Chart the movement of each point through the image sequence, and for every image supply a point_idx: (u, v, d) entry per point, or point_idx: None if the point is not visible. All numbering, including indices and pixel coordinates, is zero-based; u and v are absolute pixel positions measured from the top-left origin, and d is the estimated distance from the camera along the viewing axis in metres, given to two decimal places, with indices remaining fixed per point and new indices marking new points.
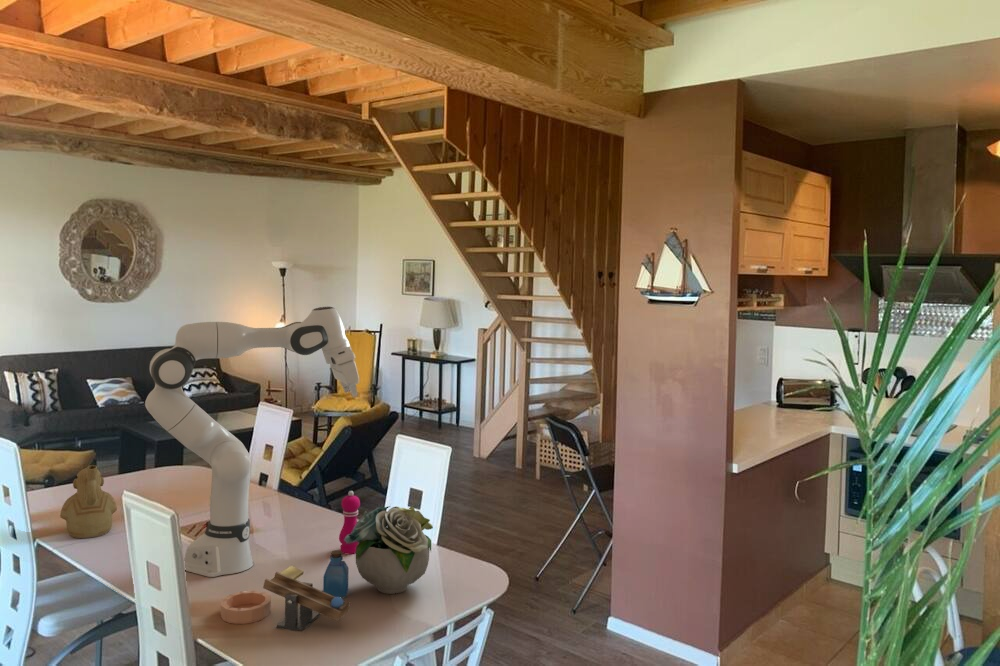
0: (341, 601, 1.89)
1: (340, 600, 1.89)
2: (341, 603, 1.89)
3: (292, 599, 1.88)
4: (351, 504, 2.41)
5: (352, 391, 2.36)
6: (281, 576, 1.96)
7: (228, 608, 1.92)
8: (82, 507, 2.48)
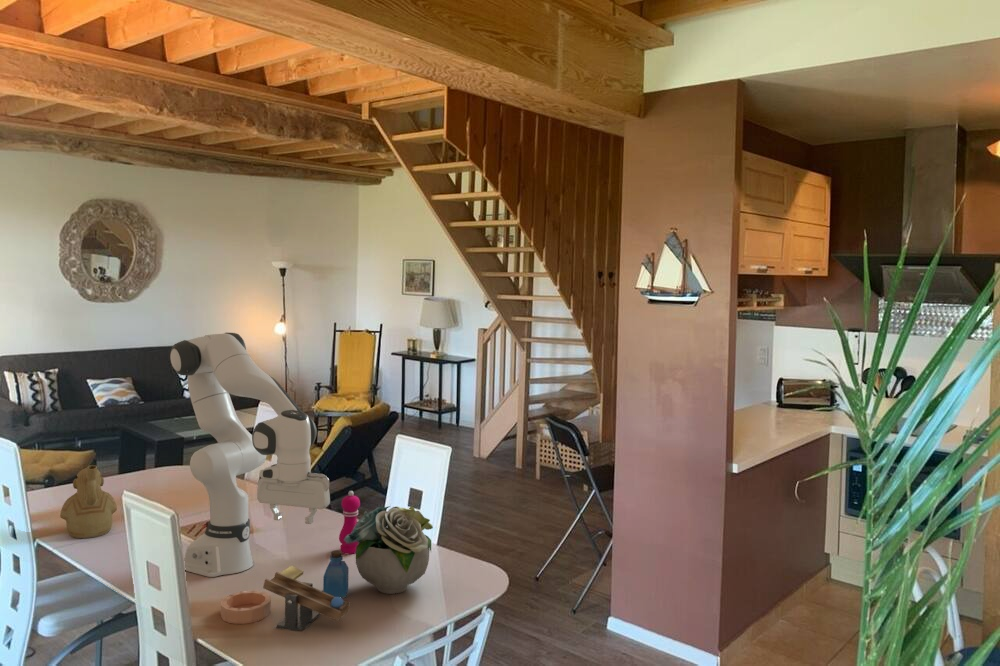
0: (341, 601, 1.89)
1: (340, 600, 1.89)
2: (341, 603, 1.89)
3: (292, 599, 1.88)
4: (351, 504, 2.41)
5: None
6: (281, 576, 1.96)
7: (228, 608, 1.92)
8: (82, 507, 2.48)
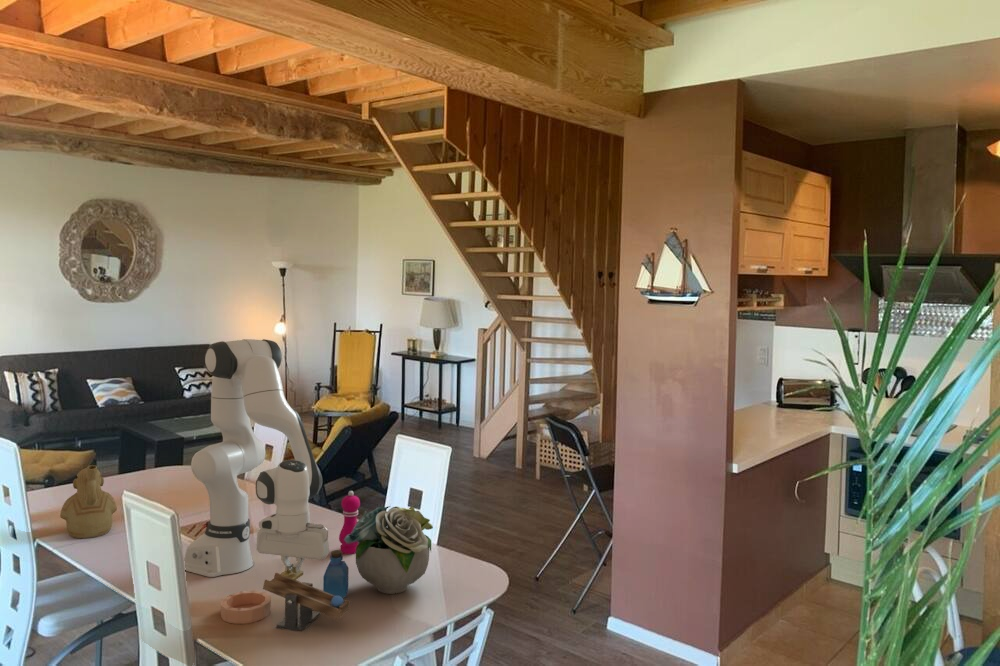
0: (341, 600, 1.89)
1: (340, 599, 1.89)
2: (341, 602, 1.89)
3: (292, 599, 1.88)
4: (351, 504, 2.41)
5: None
6: (281, 577, 1.96)
7: (228, 608, 1.92)
8: (82, 507, 2.48)
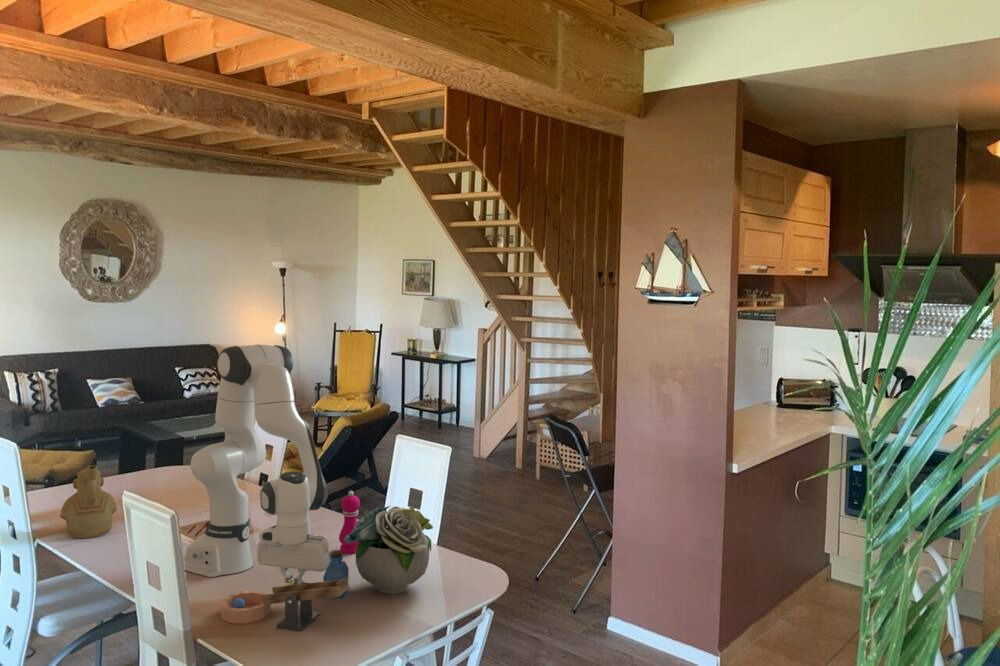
0: (238, 599, 1.97)
1: (236, 599, 1.97)
2: (239, 600, 1.97)
3: (292, 599, 1.88)
4: (351, 504, 2.41)
5: None
6: (278, 588, 1.97)
7: (228, 608, 1.92)
8: (82, 507, 2.48)
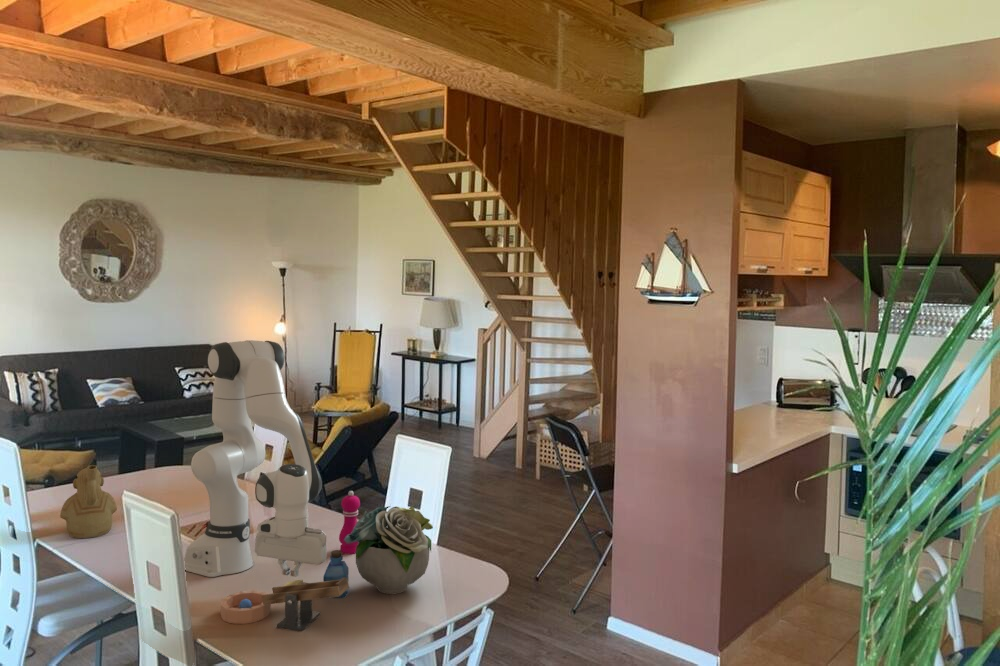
0: (249, 605, 1.96)
1: (248, 603, 1.96)
2: (249, 606, 1.96)
3: (292, 599, 1.88)
4: (351, 504, 2.41)
5: None
6: (278, 589, 1.97)
7: (228, 608, 1.92)
8: (82, 507, 2.48)
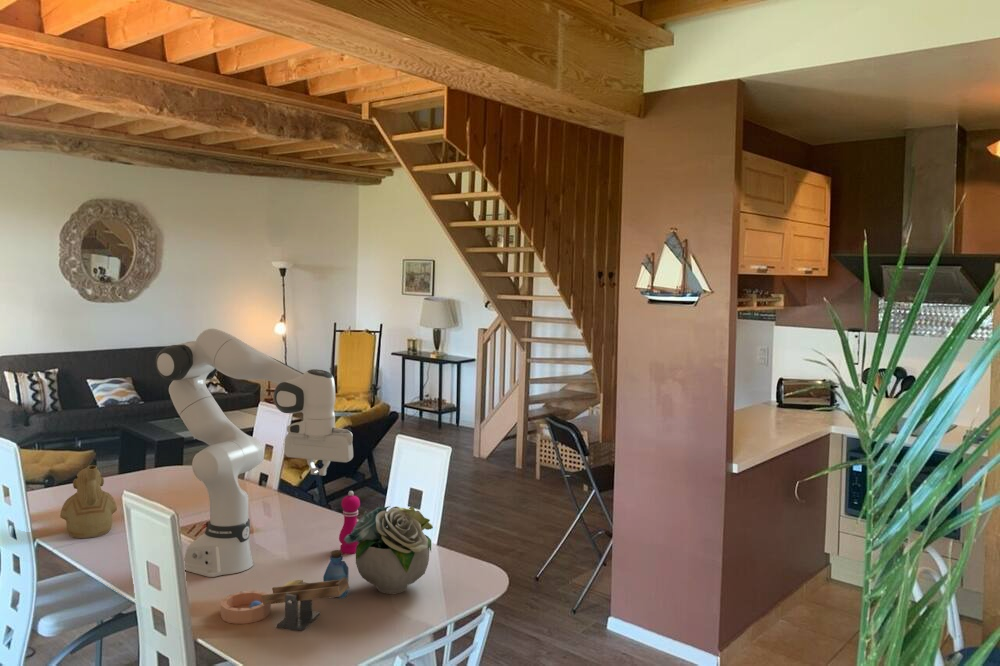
0: None
1: None
2: None
3: (292, 599, 1.88)
4: (351, 504, 2.41)
5: None
6: (278, 589, 1.97)
7: (228, 608, 1.92)
8: (82, 507, 2.48)
